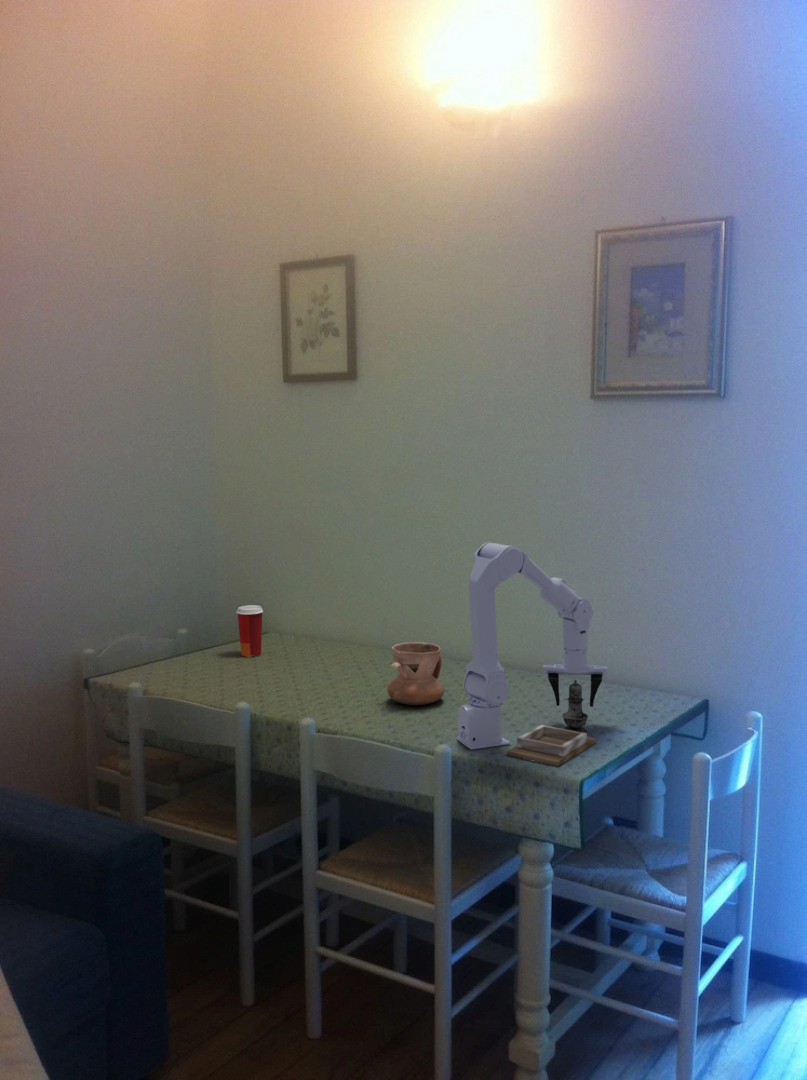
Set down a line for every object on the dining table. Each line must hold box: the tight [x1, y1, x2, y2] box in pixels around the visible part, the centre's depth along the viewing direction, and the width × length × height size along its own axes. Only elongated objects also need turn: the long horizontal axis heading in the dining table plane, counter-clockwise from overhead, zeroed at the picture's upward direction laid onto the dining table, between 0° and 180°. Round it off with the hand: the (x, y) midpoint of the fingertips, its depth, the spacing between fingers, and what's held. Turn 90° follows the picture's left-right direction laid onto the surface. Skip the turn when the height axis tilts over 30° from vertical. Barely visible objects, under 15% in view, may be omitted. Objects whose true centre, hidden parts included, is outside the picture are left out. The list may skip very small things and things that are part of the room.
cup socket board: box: [506, 724, 597, 767], centre depth 208 cm, size 18×12×3 cm, turn 144°
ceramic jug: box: [386, 641, 445, 706], centre depth 245 cm, size 18×14×14 cm
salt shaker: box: [561, 679, 589, 733], centre depth 219 cm, size 6×6×12 cm
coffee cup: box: [235, 604, 264, 658], centre depth 297 cm, size 8×8×15 cm
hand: (574, 705), depth 225 cm, fingers open, 7 cm apart
